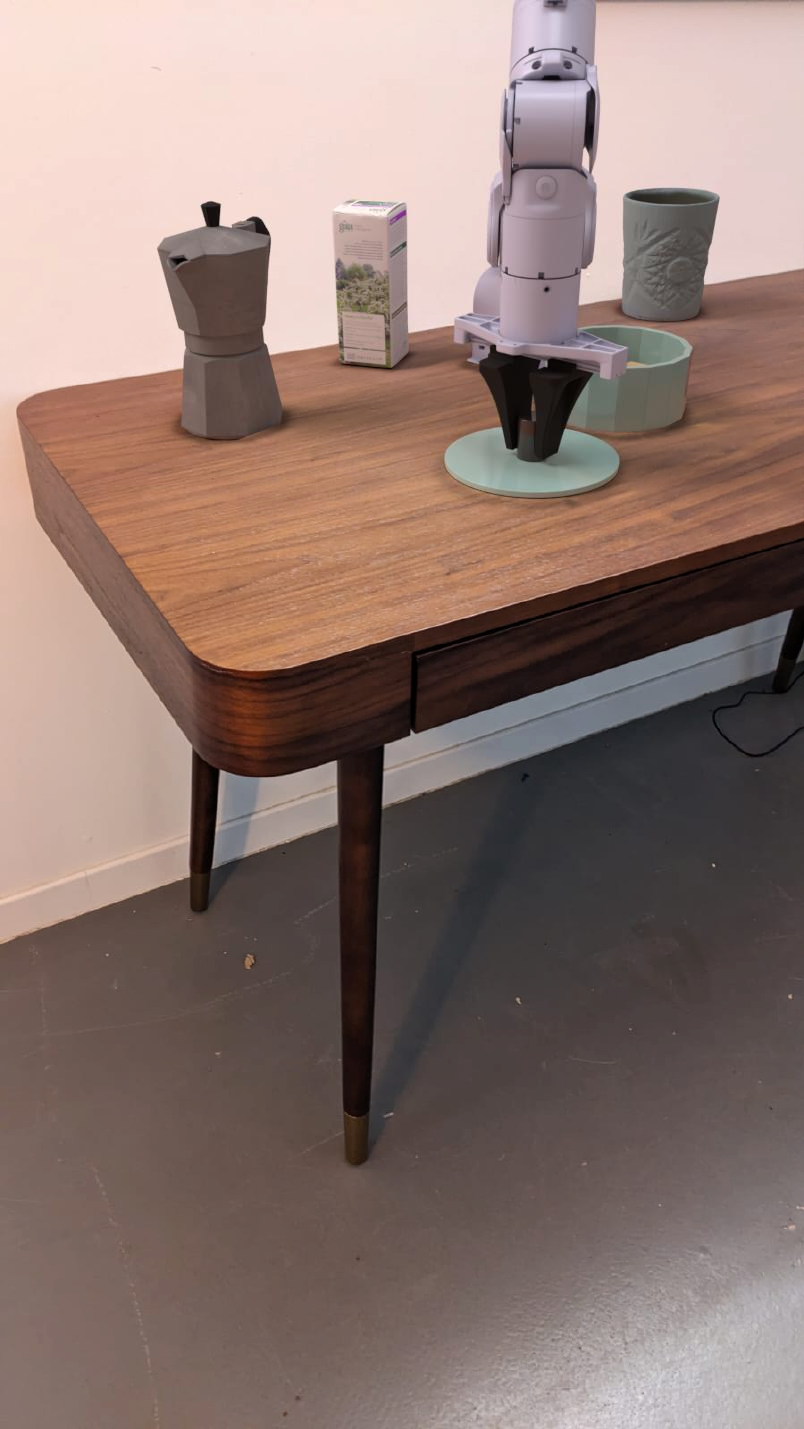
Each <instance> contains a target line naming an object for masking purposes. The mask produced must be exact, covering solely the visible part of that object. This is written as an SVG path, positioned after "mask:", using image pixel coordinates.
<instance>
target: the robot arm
mask: <svg viewBox="0 0 804 1429" xmlns="http://www.w3.org/2000/svg"><path fill="white" fill-rule="evenodd" d="M511 18H512V19H511V22H512V23H511V38H510V39H511V40H510V56H509V57H510V58H509V72H508V73H509V75H508V91H507V89H506V88H503V90H502V95H501V98H500V99H501V100H500V113H499V114H500V116H499V138H498V139H499V142H498V143H499V144H498V145H499V146H498V150H499V151H498V159H499V164H500V170H499V171H498V172H497V173H496V174H495V175H494V176H493V180H492V182H491V183H490V189H489V201H488V207H487V208H488V210H487V225H486V226H487V228H486V262H487V263H488V264H489V265H490V267H488V268H487V269H485V270H484V272H482V273H481V275H480V277H479V279H478V280H477V283H476V285H475V289H474V293H473V300H472V312H468V313H467V312H466V313H464V314H461V315H459V316H456V317H454V322H453V328H454V329H453V330H454V331H453V343H455V344H459V345H468V344H471V348H472V349H471V357H470V358H467V359H466V361H467V362H470V363H474V364H478V371H479V373H480V375H481V377H482V378H483V381H484V382H485V383H486V385H487V387H488V389H489V391H490V394H491V396H492V399H493V401H494V404H495V407H496V411H497V414H498V418H499V422H500V425H501V426H500V427H502V430H503V435H504V440H505V445H506V448H507V449H510V450H514V449H516V448H517V430H518V415H519V414H520V413H522V412H526V411H533V410H532V408H533V407H532V406H533V403H534V411H535V412H536V432H535V451H536V457H537V458H540V459H546V458H548V457H550V456H552V455H554V454H556V453H558V450H559V446H560V443H561V439H562V436H563V433H564V430H565V429H566V427H567V425H568V424H567V422H568V419H569V417H570V414H571V412H572V410H573V408H574V405H575V403H576V401H577V400H578V398H579V396H580V394H581V392H582V391H583V389H584V387H585V386H586V384H587V383H588V381H589V380H590V378H591V377H592V375H593V374H594V373H597V374H600V378H603V379H607V380H613V379H615V378H618V377H620V376H622V375H624V374H626V368H627V357H628V347H625V346H621V345H617V344H614V343H611V342H608V341H606V340H603V339H601V338H599V337H596V336H594V335H592V334H589V333H587V332H584V331H582V330H580V329H577V328H578V319H579V307H580V295H581V294H580V291H581V281H582V280H581V278H582V270H587V269H588V266H590V265H591V264H592V263H593V260H594V253H595V246H596V245H595V243H596V232H597V214H598V213H597V212H598V211H597V210H598V209H597V208H598V207H597V206H598V205H597V195H598V194H597V193H598V187H597V182H595V177H594V175H593V174H592V173H593V170H594V166H595V163H596V160H597V155H598V154H597V153H598V146H599V133H600V132H599V131H600V119H601V118H600V117H601V94H600V88H599V80H598V66H597V65H595V52H596V51H595V50H596V48H595V47H596V25H597V1H596V0H514V2H513V6H512V17H511ZM584 149H585V150H586V152H587V154H588V169H587V168H585V166H583V158H584ZM545 361H547V367H545Z"/></svg>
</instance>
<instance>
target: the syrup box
mask: <svg viewBox="0 0 804 1429" xmlns="http://www.w3.org/2000/svg"><path fill="white" fill-rule="evenodd" d="M407 207H408V206H407V202H405V201H393V200H392V201H390V200H389V201H388V200H373V199H372V200H370V199H349V200H346V201H343V202H342V203H340V204H338V206H336V207H335V208H333V209H332V210H331V220H332V221H331V223H332V240H333V241H332V242H333V260H334V261H333V262H334V279H335V280H334V281H335V298H336V299H335V300H336V301H335V302H336V303H335V304H336V317H337V318H336V319H337V320H336V322H337V338H338V360H339V363H340V364H345V365H346V364H347V365H356V366H364V367H365V366H366V367H373V368H385V369H386V368H387V369H391V368H393V367H395V366H396V365H398V363H399V362H400V361H401V360H402V359H403V358H405V356H407V355H408V354H409V351H410V339H409V337H410V336H409V309H408V308H409V307H408V306H409V303H408V208H407Z"/></svg>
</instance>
